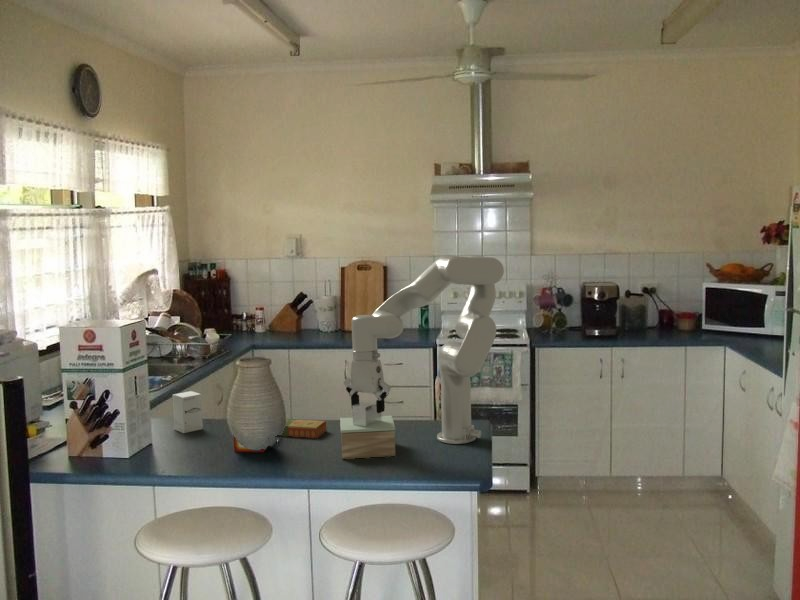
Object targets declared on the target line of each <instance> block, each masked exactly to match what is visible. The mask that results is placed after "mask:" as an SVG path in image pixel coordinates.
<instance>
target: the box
mask: <svg viewBox="0 0 800 600" xmlns="http://www.w3.org/2000/svg"><path fill="white" fill-rule="evenodd" d="M340 435H341V436H340V437H341V438H340V439H341V459H346V460H356V459H355V458H365V459H371V458H370V457H385V456H395V457H396V429H395V430H392V431H371V432H350V433H341V432H340ZM385 458H386V457H385Z"/></svg>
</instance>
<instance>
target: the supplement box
mask: <svg viewBox="0 0 800 600" xmlns="http://www.w3.org/2000/svg"><path fill="white" fill-rule="evenodd" d="M171 397H172V411H173V412H172V413H173V430H175V431H177V432H179V433H181V434H186V433H191V432H196V431H201V430H203V427H204V425H203V408H202V394H201V393H199V392H196V391H192V390H191V391H184V392H180V393H179V392H178V393H173V394H172V396H171Z"/></svg>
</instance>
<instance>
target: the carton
mask: <svg viewBox="0 0 800 600" xmlns="http://www.w3.org/2000/svg"><path fill="white" fill-rule="evenodd" d="M285 419H286V425H285V428H284V431H283V433H282V436H281V437H287V436H292V437H291V438H300V437H306V438H305V439H314V438H317V439H318V437H319V436H320V435H321V436H323V435H324V434H325V433H324V432H326V433H327V420H314V419H297V418H296V419H295V418H285ZM323 433H324V434H323ZM322 434H323V435H322ZM321 436H320V437H321ZM307 437H308V438H307ZM320 437H319V438H320Z"/></svg>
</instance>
